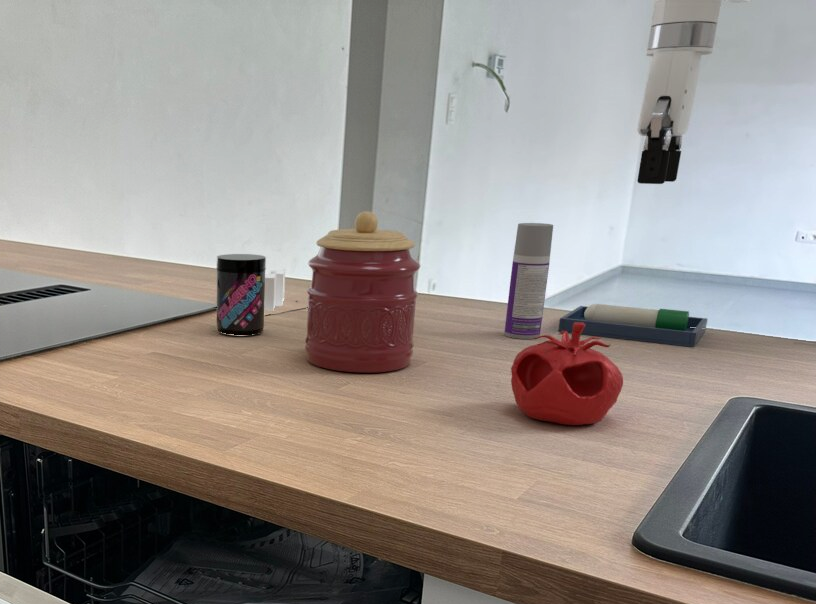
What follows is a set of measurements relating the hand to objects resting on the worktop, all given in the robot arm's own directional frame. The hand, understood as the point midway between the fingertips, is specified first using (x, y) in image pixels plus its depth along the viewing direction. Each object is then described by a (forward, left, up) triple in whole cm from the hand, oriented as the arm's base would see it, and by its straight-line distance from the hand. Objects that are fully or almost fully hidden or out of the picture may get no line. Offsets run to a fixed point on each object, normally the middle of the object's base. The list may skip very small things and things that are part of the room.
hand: (656, 182), depth 115 cm
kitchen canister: (+24, +39, -20) cm, 50 cm away
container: (+12, +12, -20) cm, 27 cm away
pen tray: (0, 0, -20) cm, 20 cm away
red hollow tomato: (-2, +48, -20) cm, 52 cm away
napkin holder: (+53, +13, -20) cm, 58 cm away
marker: (0, 0, -20) cm, 20 cm away
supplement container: (+45, +33, -20) cm, 59 cm away
